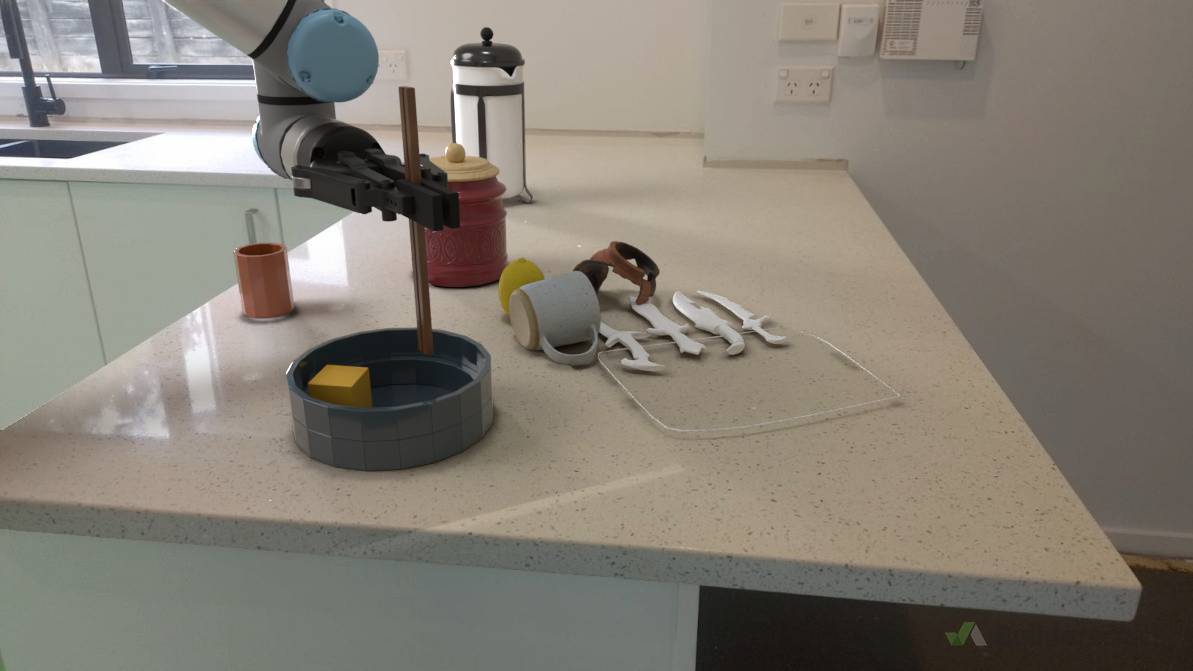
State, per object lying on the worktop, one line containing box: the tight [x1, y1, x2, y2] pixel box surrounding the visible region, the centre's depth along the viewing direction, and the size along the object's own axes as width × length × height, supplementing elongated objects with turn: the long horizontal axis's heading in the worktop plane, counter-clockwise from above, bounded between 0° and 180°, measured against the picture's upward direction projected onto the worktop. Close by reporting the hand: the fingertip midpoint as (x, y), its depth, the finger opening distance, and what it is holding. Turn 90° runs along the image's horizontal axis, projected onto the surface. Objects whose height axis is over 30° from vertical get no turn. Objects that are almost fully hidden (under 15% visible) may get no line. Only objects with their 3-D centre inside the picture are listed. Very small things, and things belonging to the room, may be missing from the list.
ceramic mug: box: [509, 270, 602, 366], centre depth 90 cm, size 11×8×8 cm
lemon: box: [497, 257, 546, 317], centre depth 97 cm, size 6×6×8 cm
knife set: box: [597, 290, 901, 433], centre depth 91 cm, size 26×35×1 cm
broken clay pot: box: [572, 240, 661, 305], centre depth 104 cm, size 12×10×8 cm
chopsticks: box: [398, 85, 434, 355], centre depth 68 cm, size 1×2×22 cm, turn 37°
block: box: [308, 365, 372, 408], centre depth 75 cm, size 4×4×4 cm
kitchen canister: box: [425, 142, 509, 288], centre depth 112 cm, size 13×13×18 cm
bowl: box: [285, 326, 494, 472], centre depth 74 cm, size 17×17×6 cm
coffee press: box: [449, 26, 534, 204], centre depth 149 cm, size 17×16×30 cm
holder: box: [232, 242, 295, 319], centre depth 98 cm, size 6×6×8 cm
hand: (446, 212), depth 63 cm, fingers closed on chopsticks, 1 cm apart
